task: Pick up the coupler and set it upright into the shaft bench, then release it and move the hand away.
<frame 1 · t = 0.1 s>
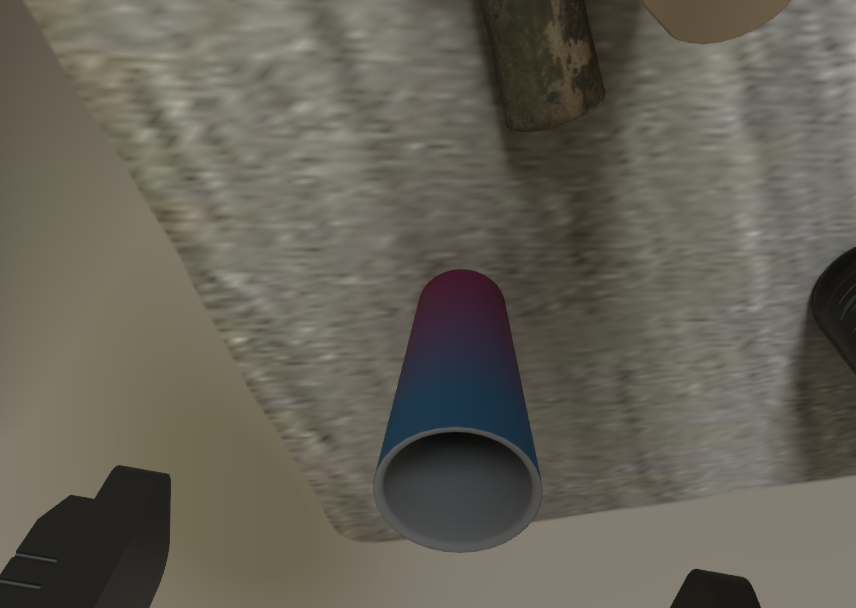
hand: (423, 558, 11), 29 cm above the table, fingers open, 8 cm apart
cup: (461, 306, 43), on the table
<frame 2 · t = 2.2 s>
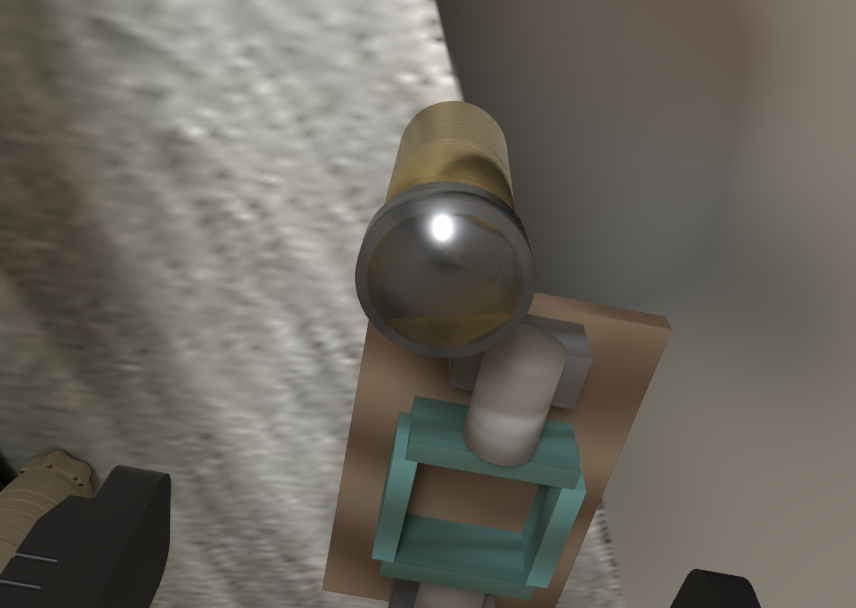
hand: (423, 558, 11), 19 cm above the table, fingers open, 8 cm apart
shaft bench: (474, 462, 35), on the table
handle: (66, 468, 37), on the table
coupler: (452, 155, 28), on the table
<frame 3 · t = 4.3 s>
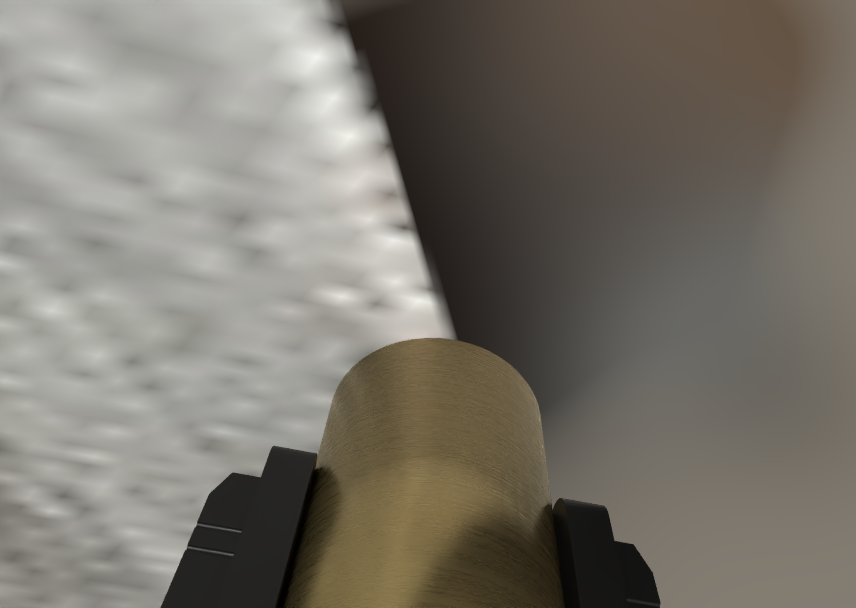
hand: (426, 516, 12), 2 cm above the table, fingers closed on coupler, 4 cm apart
coupler: (434, 427, 14), on the table, touching gripper
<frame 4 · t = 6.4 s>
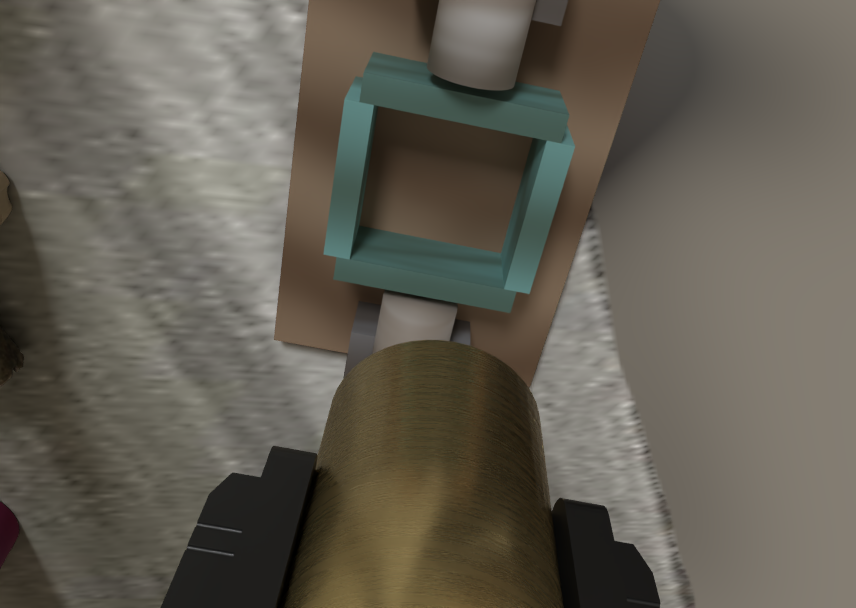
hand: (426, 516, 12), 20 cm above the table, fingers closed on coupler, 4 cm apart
shaft bench: (445, 163, 30), on the table
coupler: (434, 428, 14), point 18 cm above the table, touching gripper
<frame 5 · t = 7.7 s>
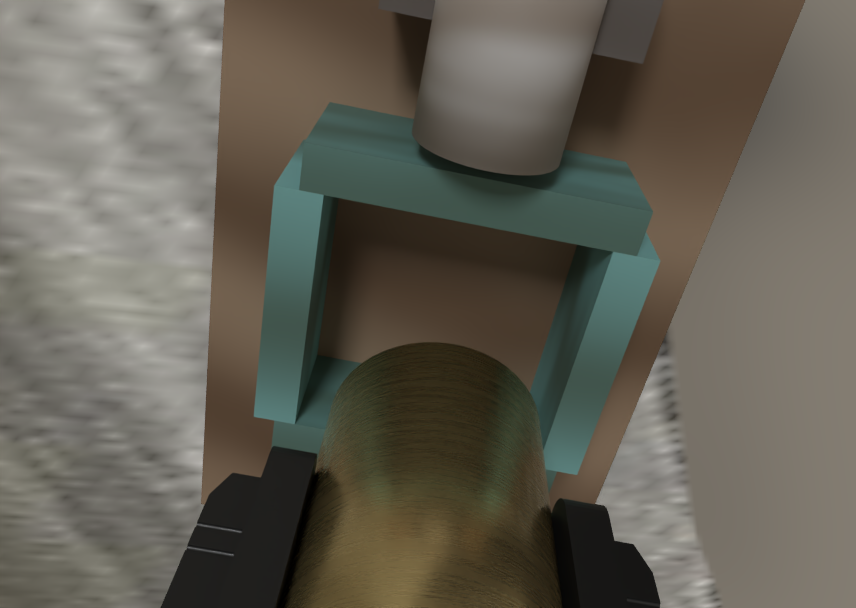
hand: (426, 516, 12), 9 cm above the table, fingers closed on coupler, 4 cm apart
shaft bench: (446, 264, 20), on the table
coupler: (434, 430, 14), point 7 cm above the table, touching gripper
when the fingers open (5 cm above the table, at t = 8.8 s): coupler drops 2 cm, resting on shaft bench.
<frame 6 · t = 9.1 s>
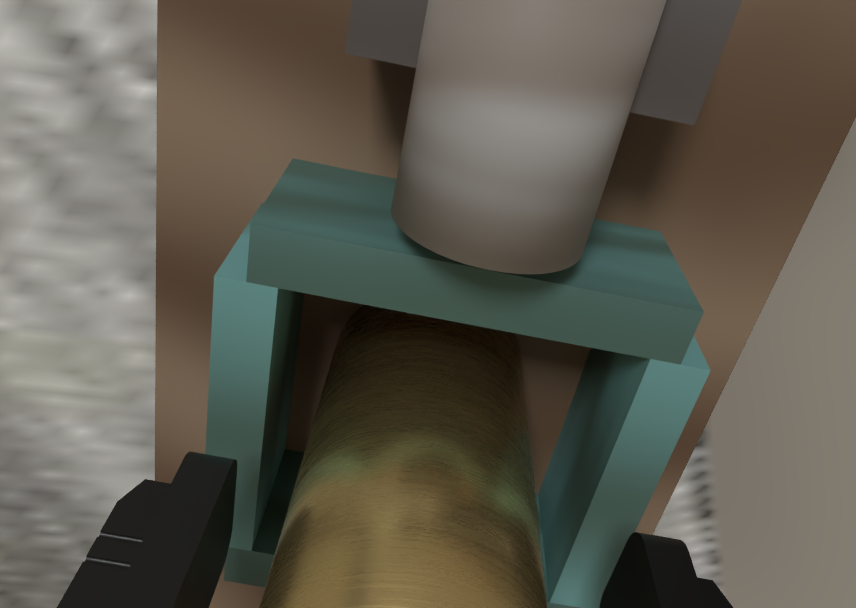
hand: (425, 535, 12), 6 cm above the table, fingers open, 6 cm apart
shaft bench: (439, 342, 17), on the table
coupler: (427, 368, 16), point 1 cm above the table, touching shaft bench
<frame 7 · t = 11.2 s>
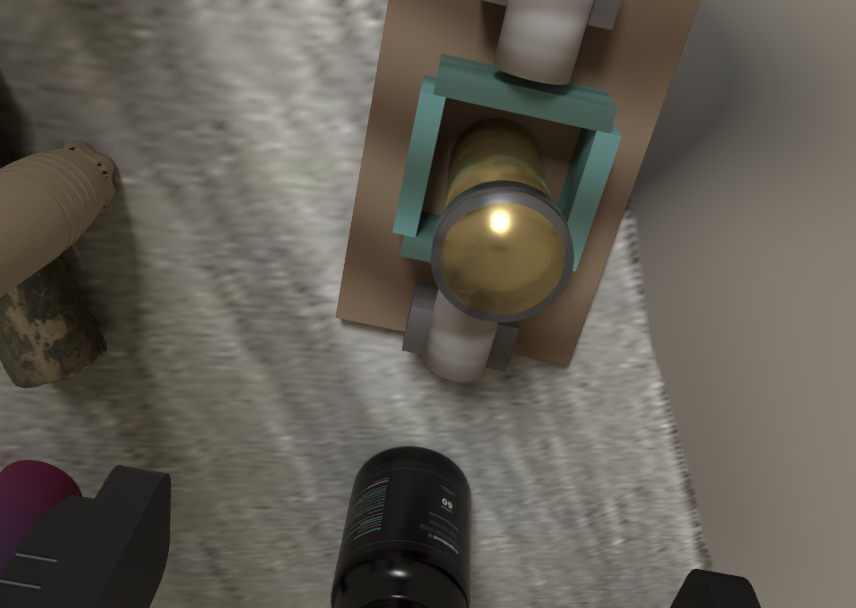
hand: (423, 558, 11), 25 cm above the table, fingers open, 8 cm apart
shaft bench: (499, 156, 34), on the table
cup: (42, 489, 45), on the table
handle: (89, 170, 35), on the table
supplement bottle: (412, 485, 44), on the table
coupler: (495, 163, 33), point 1 cm above the table, touching shaft bench
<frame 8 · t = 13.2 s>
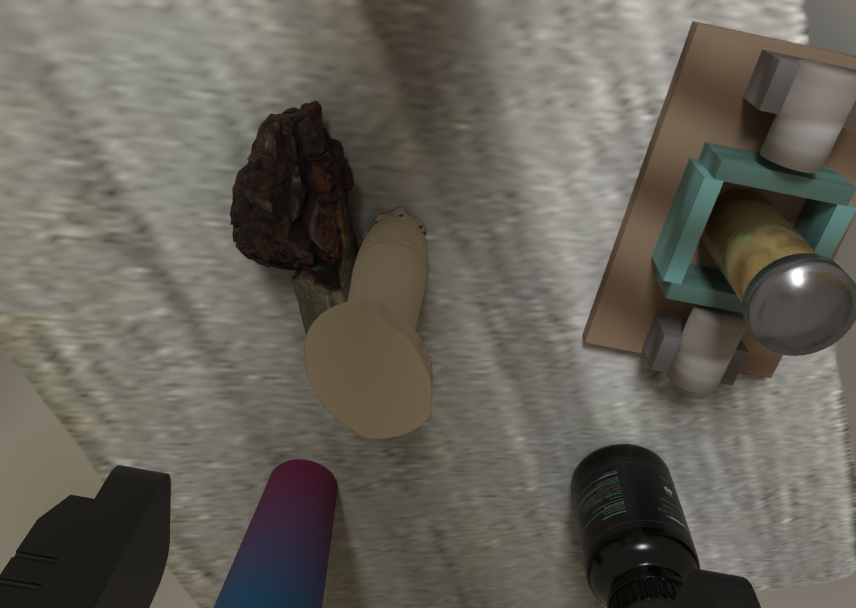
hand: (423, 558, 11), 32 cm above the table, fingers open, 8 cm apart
shaft bench: (733, 215, 42), on the table
cup: (304, 483, 54), on the table
dark brown elongated piece: (320, 244, 45), on the table
handle: (399, 229, 44), on the table
supplement bottle: (619, 475, 53), on the table
coupler: (735, 222, 41), point 1 cm above the table, touching shaft bench
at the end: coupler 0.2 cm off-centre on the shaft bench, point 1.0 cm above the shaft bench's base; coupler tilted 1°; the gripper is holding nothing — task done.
